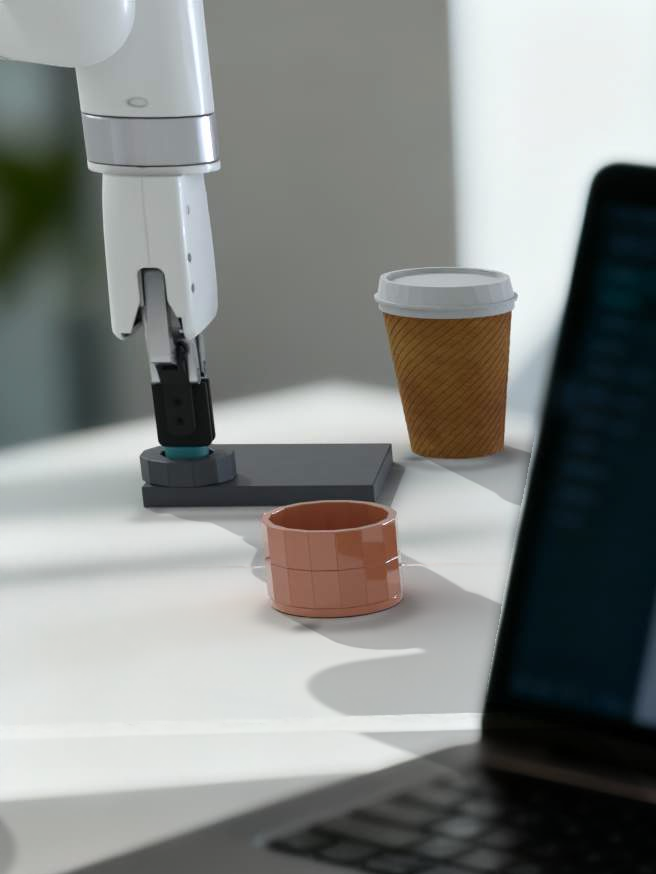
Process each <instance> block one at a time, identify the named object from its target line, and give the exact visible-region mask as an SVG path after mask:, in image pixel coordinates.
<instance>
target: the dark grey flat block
mask: <svg viewBox="0 0 656 874" xmlns="http://www.w3.org/2000/svg"><path fill="white" fill-rule="evenodd" d="M208 448H209V455H207V456H204V457H196V458H169V457H166V456H165V448H164V446H161V445H157V446H154V447H150V448H146V449H144V450H143V451H142V452H141V453H140V454H139V456H138V458H139V463H140V472H141V479H142V481H143V482H144V484H143V485H142V486H141V496H142V504H143V508H208V507H209V508H210V507H211V508H220V507H222V508H226V507H227V508H228V507H229V508H231V507H234V508H235V507H282V506H287V505H291V504H296V503H303V502H312V501H322V500H323V501H324V500H353V501H364V502H373V503H377V502H378V500H379V497H380V495H381V492H382V491H383V488H384V485H385V483H386V480H387V478H388V475H389V473H390V471H391V469H392V466H393V464H394V457H393V445H392V443H390V442H389V443H388V442H386V443H383V442H381V443H376V442H375V443H372V442H371V443H367V442H365V443H362V442H361V443H358V442H357V443H211V444H210V445H209V446H208Z"/></svg>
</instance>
